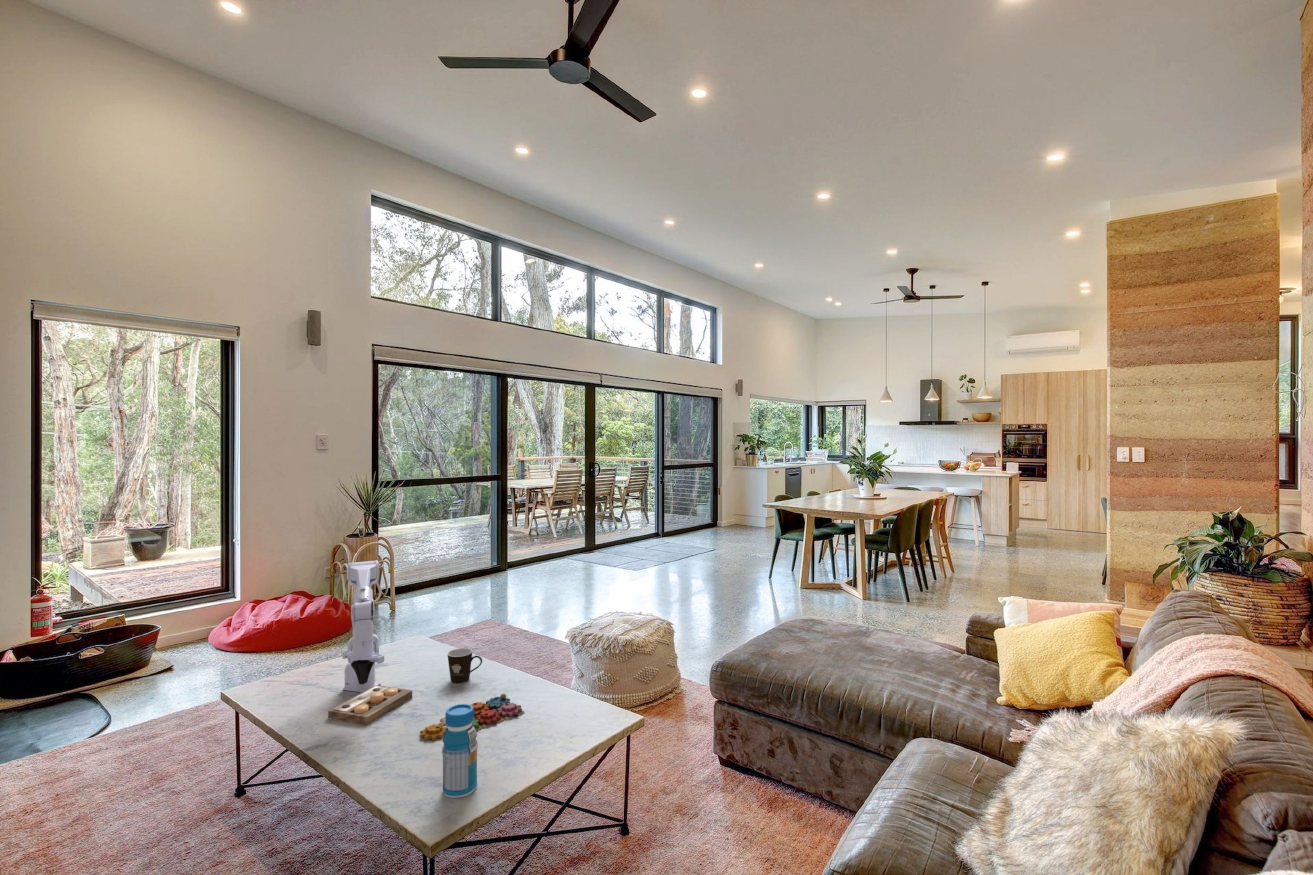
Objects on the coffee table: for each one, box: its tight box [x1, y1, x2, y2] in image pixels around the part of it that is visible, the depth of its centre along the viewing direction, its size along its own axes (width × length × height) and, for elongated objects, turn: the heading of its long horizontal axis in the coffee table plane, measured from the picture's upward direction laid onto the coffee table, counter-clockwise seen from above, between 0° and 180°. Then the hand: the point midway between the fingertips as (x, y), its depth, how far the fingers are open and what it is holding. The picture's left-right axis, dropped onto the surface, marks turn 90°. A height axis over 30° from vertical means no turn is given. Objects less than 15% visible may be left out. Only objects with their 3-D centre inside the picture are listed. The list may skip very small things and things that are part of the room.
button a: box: [354, 705, 369, 714], centre depth 187 cm, size 4×4×2 cm
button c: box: [385, 687, 398, 697], centre depth 199 cm, size 4×4×2 cm
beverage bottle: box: [441, 703, 479, 799], centre depth 149 cm, size 8×8×20 cm
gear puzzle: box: [419, 693, 525, 741], centre depth 185 cm, size 31×16×4 cm, turn 133°
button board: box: [327, 685, 413, 726], centre depth 194 cm, size 15×20×3 cm
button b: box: [370, 692, 384, 704], centre depth 193 cm, size 4×4×2 cm
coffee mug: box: [446, 647, 483, 685], centre depth 215 cm, size 12×9×10 cm
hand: (363, 683), depth 188 cm, fingers closed
